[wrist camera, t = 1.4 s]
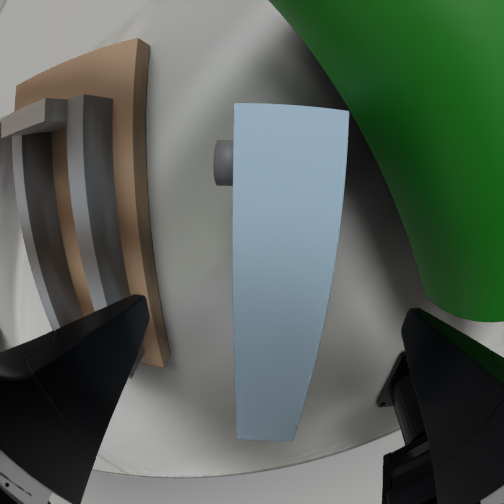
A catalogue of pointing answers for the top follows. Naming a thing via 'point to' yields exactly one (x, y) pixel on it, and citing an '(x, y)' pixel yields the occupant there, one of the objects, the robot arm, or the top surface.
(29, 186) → the cabinet base
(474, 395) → the robot arm
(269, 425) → the cabinet door
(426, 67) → the motor
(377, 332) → the top surface
